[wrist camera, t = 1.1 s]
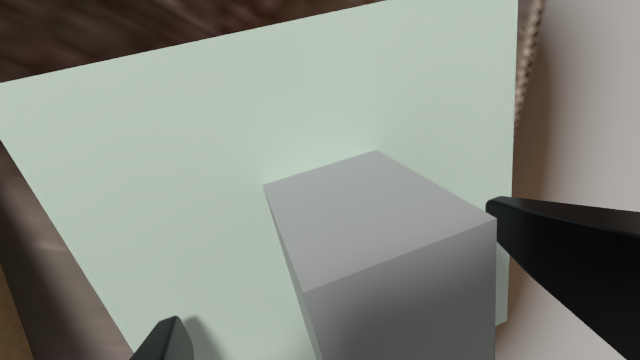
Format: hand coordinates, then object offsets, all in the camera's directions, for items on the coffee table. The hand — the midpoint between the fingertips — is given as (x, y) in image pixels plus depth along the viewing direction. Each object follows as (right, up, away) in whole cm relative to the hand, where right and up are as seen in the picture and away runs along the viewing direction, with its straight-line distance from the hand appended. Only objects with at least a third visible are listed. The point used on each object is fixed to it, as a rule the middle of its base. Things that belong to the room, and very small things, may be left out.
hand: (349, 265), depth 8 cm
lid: (-1, +1, +2) cm, 3 cm away
